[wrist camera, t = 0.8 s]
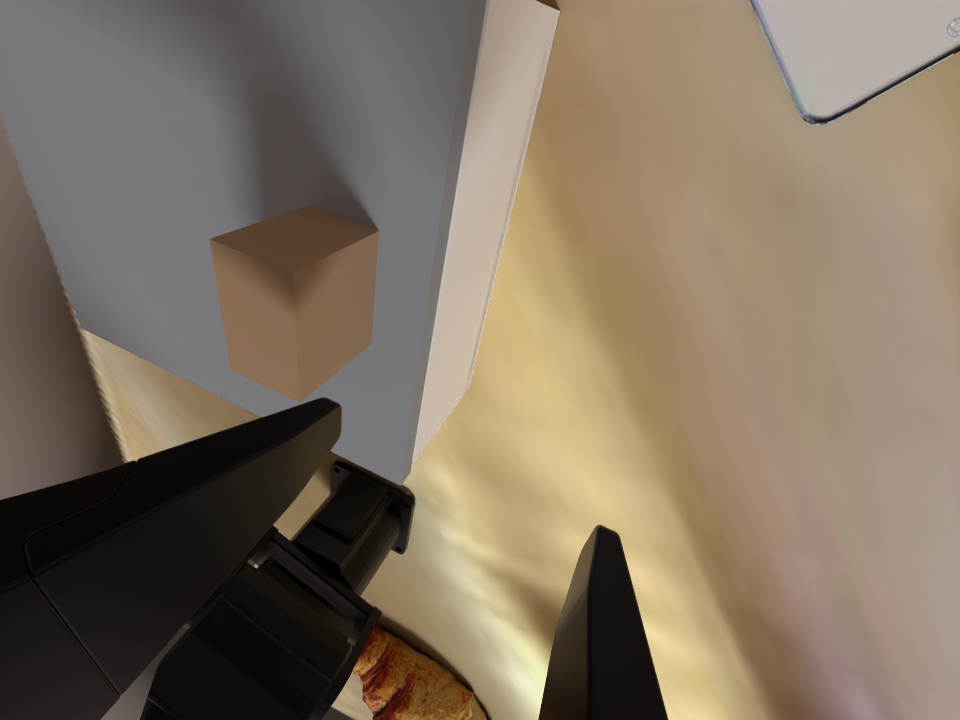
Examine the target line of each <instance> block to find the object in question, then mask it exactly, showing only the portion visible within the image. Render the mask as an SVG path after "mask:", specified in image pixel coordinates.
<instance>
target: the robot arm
mask: <svg viewBox="0 0 960 720" xmlns="http://www.w3.org/2000/svg"><path fill="white" fill-rule="evenodd" d="M341 430H342V407H341V405H340V404H339V403H337V402H335V401H333V400H331V399H329V398H326V397H322V398H318V399H315V400H312V401H309V402H306V403H303V404H300V405H297V406H294V407H291V408H288V409H285V410H282V411H279V412H276V413H273V414H271V415H268V416H265V417H262V418H259V419H256V420H253V421H250V422H247V423H244V424H241V425H238V426H235V427H232V428H229V429H226V430H223V431H220V432H217V433H214V434H211V435H208V436H205V437H202V438H199V439H196V440H193V441H190V442H187V443H184V444H181V445H178V446H175V447H172V448H169V449H166V450H163V451H160V452H157V453H154V454H151V455H149V456H146V457H143V458H140V459H138V460H137V462H136V461H130V462H127V463H124V464H121V465H118V466H115V467H112V468H109V469H106V470H103V471H100V472H97V473H94V474H90V475H87V476H84V477H81V478H78V479H75V480H71V481H68V482H64V483H61V484H57V485H54V486H50V487H46V488H43V489H39V490H36V491H32V492H28V493H25V494H21V495H18V496H14V497H10V498H6V499H3V500H0V720H100V719H101V718H102V717H103V716H104V715H105V714H106V713H107V711H108V710H109V709H110V708H111V707H112V706H113V705H114V704H115V703H116V701H117V700H118V699H119V698H120V695H122V694H123V693H124V692H125V691H126V690H127V689H128V688H129V686H130V685H131V684H132V683H133V682H134V680H135V679H137V677H138V676H139V675H140V674H141V673H142V672H143V671H144V670H145V668H146V667H147V666H148V665H149V664H150V663H151V661H153V659H154V658H155V657H156V656H157V655H158V653H160V651H161V650H162V649H163V648H164V647H165V646H166V645H167V643H168V642H169V641H170V640H171V639H172V638H173V637H174V636H175V635H176V633H177V632H178V631H179V630H180V629H181V628H182V627H183V626H184V627H186V628H187V629H188V630H187V631H186V633H185V634H184V635H183V636H182V637H181V638H180V639H179V641H177V643H176V644H175V645H174V646H173V647H172V648H171V649H170V651H169V652H168V653H167V654H166V655H165V656H164V658H163V659H162V660H161V661H160V663H159V665H158V667H157V670H156V673H155V676H154V679H153V682H152V685H151V688H150V691H149V694H148V697H147V700H146V703H145V706H144V709H143V712H142V715H141V718H140V720H320V719H321V718H322V717H323V716H324V715H325V714H326V712H327V711H328V710H329V708H330V707H331V705H332V704H333V703H334V701H335V700H336V698H337V697H338V695H339V694H340V692H341V690H342V689H343V687H344V686H345V684H346V682H347V680H348V679H349V677H350V675H351V673H352V671H353V669H354V667H355V665H356V663H357V661H358V659H359V657H360V655H361V653H362V651H363V649H364V647H365V645H366V643H367V641H368V639H369V637H370V635H371V633H372V631H373V629H374V627H375V625H376V623H377V621H378V619H379V617H380V614H381V612H382V611H380V610H379V609H378V608H377V607H375V606H374V607H373V606H371V605H370V604H369V603H368V602H366V601H365V600H364V599H363V598H361V597H360V596H361V595H362V593H363V592H364V590H365V588H366V587H367V585H368V584H369V582H370V581H371V579H372V578H373V576H374V575H375V573H376V572H377V570H378V569H379V567H380V565H381V564H382V562H383V561H384V559H385V558H386V556H387V555H388V553H389V552H390V550H393V551H395V552H397V553H399V554H404V552H405V551H406V549H407V545H408V540H409V534H410V529H411V524H412V518H413V513H414V507H415V501H414V499H413V498H412V497H410V496H408V495H406V494H404V493H402V492H400V491H398V490H396V489H394V488H392V487H390V486H388V485H386V484H384V483H382V482H380V481H378V480H376V479H374V478H372V477H370V476H368V475H366V474H364V473H362V472H360V471H358V470H356V469H354V468H352V467H350V466H348V465H346V464H344V463H342V462H340V461H335V462H334V463H333V464H332V465H331V494H330V495H329V496H328V498H327V499H326V500H325V501H324V502H323V503H322V504H321V506H320V507H319V508H318V509H317V510H316V511H315V512H314V513H313V515H312V516H311V517H310V518H309V519H308V520H307V521H306V523H305V524H304V525H303V526H302V527H301V528H300V529H299V531H298V532H297V533H296V534H295V535H294V536H293V537H292V538H291V540H290V541H289V540H288V539H287V538H286V537H284V536H283V535H282V534H281V533H279V532H278V531H279V530H278V529H277V528H276V527H274V526H273V524H274V523H275V522H276V521H277V520H278V519H279V518H280V516H281V515H282V514H283V513H284V512H285V511H286V510H287V508H288V507H289V506H290V505H291V504H292V503H293V501H294V500H295V499H296V498H297V497H298V495H299V494H300V493H301V491H302V490H303V489H304V487H305V486H306V484H307V483H308V482H309V480H310V479H311V477H312V476H313V475H314V473H315V472H316V470H317V469H318V468H319V466H320V465H321V463H322V462H323V461H324V459H325V458H326V456H327V455H328V454H329V452H330V451H331V449H332V448H333V447H334V445H335V444H336V442H337V441H338V439H339V437H340V435H341ZM255 564H257V565H258V566H259V567H258V568H257V569H256V568H255V567H253V566H254V565H255ZM538 720H668V717H667V713H666V709H665V706H664V702H663V698H662V694H661V691H660V687H659V683H658V679H657V675H656V672H655V668H654V664H653V660H652V657H651V653H650V649H649V645H648V641H647V638H646V634H645V630H644V626H643V623H642V619H641V615H640V611H639V607H638V604H637V600H636V596H635V592H634V589H633V585H632V581H631V577H630V573H629V570H628V566H627V562H626V558H625V555H624V551H623V547H622V543H621V540H620V536H619V535H618V533H616V532H615V531H613V530H611V529H608V528H606V527H604V526H602V525H597V526H596V527H595V528H594V530H593V532H592V533H591V535H590V537H589V538H588V540H587V542H586V543H585V545H584V547H583V549H582V551H581V553H580V556H579V559H578V562H577V565H576V568H575V571H574V575H573V578H572V581H571V584H570V587H569V590H568V594H567V597H566V600H565V603H564V606H563V609H562V612H561V616H560V619H559V622H558V626H557V629H556V633H555V637H554V642H553V646H552V651H551V656H550V662H549V667H548V672H547V677H546V683H545V688H544V693H543V698H542V704H541V709H540V714H539V719H538Z"/></svg>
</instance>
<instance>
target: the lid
mask: <svg viewBox="0 0 960 720" xmlns="http://www.w3.org/2000/svg"><path fill="white" fill-rule="evenodd" d="M486 2H487V0H0V118H1V121H2V123H3V126H4V128H5V131H6V134H7V136H8V139H9V141H10V144H11V146H12V149H13V152H14V154H15V157H16V159H17V162H18V165H19V167H20V170H21V172H22V175H23V178H24V180H25V183H26V185H27V188H28V191H29V193H30V196H31V198H32V201H33V204H34V206H35V209H36V211H37V214H38V217H39V219H40V222H41V224H42V227H43V230H44V232H45V235H46V237H47V240H48V243H49V245H50V248H51V250H52V253H53V256H54V258H55V261H56V263H57V266H58V268H59V271H60V274H61V276H62V279H63V281H64V284H65V287H66V289H67V292H68V294H69V297H70V300H71V302H72V305H73V307H74V310H75V313H76V315H77V318H78V320H79V323H80V326H81V328H82V329H84V330H86V331H88V332H90V333H92V334H94V335H96V336H98V337H101V338H103V339H105V340H107V341H109V342H111V343H113V344H115V345H117V346H119V347H121V348H123V349H125V350H127V351H129V352H131V353H133V354H135V355H137V356H139V357H141V358H143V359H145V360H147V361H149V362H151V363H153V364H155V365H157V366H159V367H161V368H163V369H165V370H167V371H169V372H171V373H173V374H175V375H177V376H179V377H181V378H183V379H185V380H187V381H189V382H191V383H193V384H196V385H198V386H200V387H202V388H204V389H206V390H208V391H210V392H212V393H214V394H216V395H218V396H220V397H222V398H224V399H226V400H228V401H230V402H232V403H234V404H236V405H238V406H240V407H242V408H244V409H246V410H248V411H250V412H252V413H254V414H256V415H258V416H260V417H265V416H268V415H271V414H273V413H276V412H279V411H282V410H285V409H288V408H291V407H294V406H297V405H300V404H303V403H306V402H309V401H312V400H315V399H318V398H322V397H326V398H329V399H331V400H333V401H335V402H337V403H339V404H340V405H341V407H342V430H341V435H340V437H339V439H338V441H337V442H336V444H335V445H334V447H333V448H332V449H331V452H333V453H335V454H337V455H339V456H341V457H343V458H345V459H347V460H349V461H351V462H353V463H355V464H357V465H359V466H361V467H363V468H365V469H367V470H369V471H371V472H373V473H375V474H377V475H379V476H381V477H383V478H385V479H387V480H390V481H392V482H394V483H396V484H398V485H400V486H401V484H402V483H403V482H404V480H405V479H406V478H407V476H408V475H409V474H410V471H411V464H412V458H413V452H414V446H415V440H416V434H417V427H418V421H419V415H420V409H421V403H422V397H423V391H424V384H425V378H426V372H427V366H428V360H429V354H430V347H431V341H432V335H433V329H434V323H435V317H436V310H437V304H438V298H439V292H440V286H441V280H442V273H443V267H444V261H445V255H446V249H447V243H448V236H449V230H450V224H451V218H452V212H453V206H454V200H455V193H456V187H457V181H458V175H459V169H460V163H461V156H462V150H463V144H464V138H465V132H466V126H467V119H468V113H469V107H470V101H471V95H472V89H473V82H474V76H475V70H476V64H477V58H478V52H479V45H480V39H481V33H482V27H483V21H484V15H485V9H486Z"/></svg>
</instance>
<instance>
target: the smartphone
mask: <svg viewBox="0 0 960 720" xmlns="http://www.w3.org/2000/svg"><path fill="white" fill-rule="evenodd" d="M748 1H749V3H750V6H751V8H752V10H754V12H755V14H756V16H757V22H758V24H759V26H760V28H761V31H762V33H763V35H764V37H765V39H766V41H767V43H768V45H769V47H770V49H771V51H772V54H773V55H774V58H775V61H776V63H777V65H778V68H779V71H780V73H781V76H782V78H783V81H784V83H785V85H786V88H787V90H788V91H789V92H790V94H791V96H792V98H793V100H794V103H795V105H796V107H797V109H798V112H799V114H800V116H801V117H802V118H803V119H804V120H805V121H806V122H808V123H811V124H815V125H822V124H826V123H830V122H832V121H835V120H836V119H838V118H840V117H842V116H844V115H845V114H847V113H849V112H851V111H853V110H854V109H856V108H858V107H860V106H862V105H863V104H865V103H867V102H869V101H871V100H872V99H874V98H876V97H878V96H880V95H881V94H883V93H885V92H887V91H889V90H890V89H892V88H894V87H896V86H898V85H900V84H901V83H903V82H905V81H907V80H909V79H910V78H912V77H914V76H916V75H918V74H919V73H921V72H923V71H925V70H927V69H928V68H930V67H932V66H934V65H936V64H937V63H939V62H941V61H943V60H945V59H946V58H948V57H950V56H952V55H954V54H955V53H957V52H959V51H960V0H748Z"/></svg>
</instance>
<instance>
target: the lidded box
mask: <svg viewBox="0 0 960 720" xmlns="http://www.w3.org/2000/svg"><path fill="white" fill-rule="evenodd" d="M559 14H560V11H558V10H556V9H554V8H551V7H549V6H547V5H545V4H542V3H540V2H538V1H536V0H487V2H486V9H485V15H484V21H483V27H482V33H481V39H480V45H479V52H478V58H477V64H476V70H475V76H474V82H473V89H472V95H471V101H470V107H469V113H468V119H467V126H466V132H465V138H464V144H463V150H462V156H461V163H460V169H459V175H458V181H457V187H456V193H455V200H454V206H453V212H452V218H451V224H450V230H449V236H448V243H447V249H446V255H445V261H444V267H443V273H442V280H441V286H440V292H439V298H438V304H437V310H436V317H435V323H434V329H433V335H432V341H431V347H430V354H429V360H428V366H427V372H426V378H425V384H424V391H423V397H422V403H421V409H420V415H419V421H418V427H417V434H416V440H415V446H414V452H413V458H412V463H414V462H415V461H416V459H417V458H418V457H419V455H420V454H421V452H422V451H423V450H424V448H425V447H426V446H427V444H428V443H429V442H430V440H431V439H432V438H433V436H434V435H435V433H436V432H437V431H438V429H439V428H440V427H441V425H442V424H443V423H444V421H445V420H446V419H447V417H448V416H449V414H450V413H451V412H452V410H453V409H454V408H455V406H456V405H457V404H458V402H459V401H460V400H461V398H462V397H463V395H464V394H465V393H466V391H467V390H468V389H469V387H470V384H471V380H472V376H473V371H474V367H475V363H476V359H477V355H478V351H479V347H480V342H481V338H482V334H483V330H484V326H485V322H486V317H487V313H488V309H489V305H490V301H491V297H492V292H493V288H494V284H495V280H496V276H497V272H498V268H499V263H500V259H501V255H502V251H503V247H504V243H505V238H506V234H507V230H508V226H509V222H510V218H511V213H512V209H513V205H514V201H515V197H516V193H517V189H518V184H519V180H520V176H521V172H522V168H523V164H524V159H525V155H526V151H527V147H528V143H529V139H530V134H531V130H532V126H533V122H534V118H535V114H536V110H537V105H538V101H539V97H540V93H541V89H542V85H543V80H544V76H545V72H546V68H547V64H548V60H549V56H550V51H551V47H552V43H553V39H554V35H555V31H556V26H557V22H558V18H559Z"/></svg>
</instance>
